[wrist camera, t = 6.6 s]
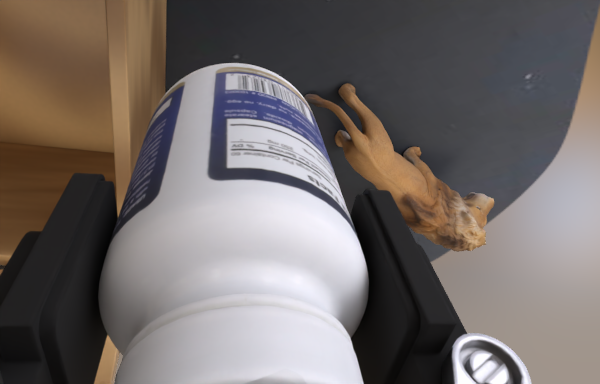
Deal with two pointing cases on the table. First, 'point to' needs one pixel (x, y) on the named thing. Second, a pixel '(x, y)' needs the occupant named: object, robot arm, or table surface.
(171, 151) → the pill bottle
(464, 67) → the table surface
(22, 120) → the case box
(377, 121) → the lion figurine
